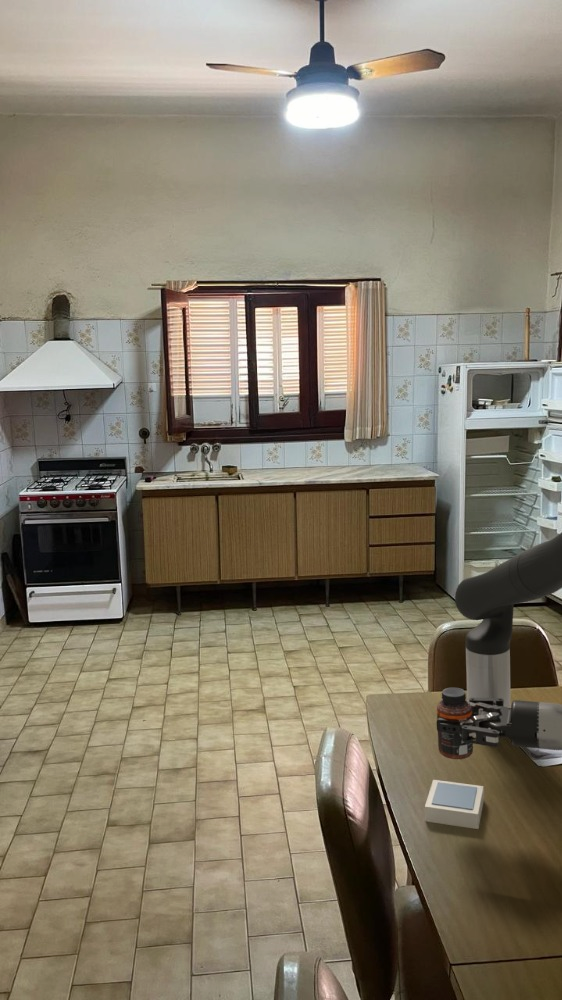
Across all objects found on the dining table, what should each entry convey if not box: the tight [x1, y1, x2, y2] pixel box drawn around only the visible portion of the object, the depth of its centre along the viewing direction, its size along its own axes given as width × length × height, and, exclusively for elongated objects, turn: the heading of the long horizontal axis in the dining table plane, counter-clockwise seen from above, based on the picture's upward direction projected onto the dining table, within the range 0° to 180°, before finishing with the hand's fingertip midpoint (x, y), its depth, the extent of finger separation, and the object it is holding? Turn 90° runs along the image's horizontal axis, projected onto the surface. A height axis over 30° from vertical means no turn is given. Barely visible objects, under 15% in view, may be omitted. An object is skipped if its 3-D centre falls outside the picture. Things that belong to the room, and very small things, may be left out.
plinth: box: [424, 779, 485, 830], centre depth 133 cm, size 9×9×3 cm
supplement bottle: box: [436, 687, 474, 760], centre depth 130 cm, size 6×6×11 cm
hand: (440, 716), depth 131 cm, fingers closed on supplement bottle, 6 cm apart
